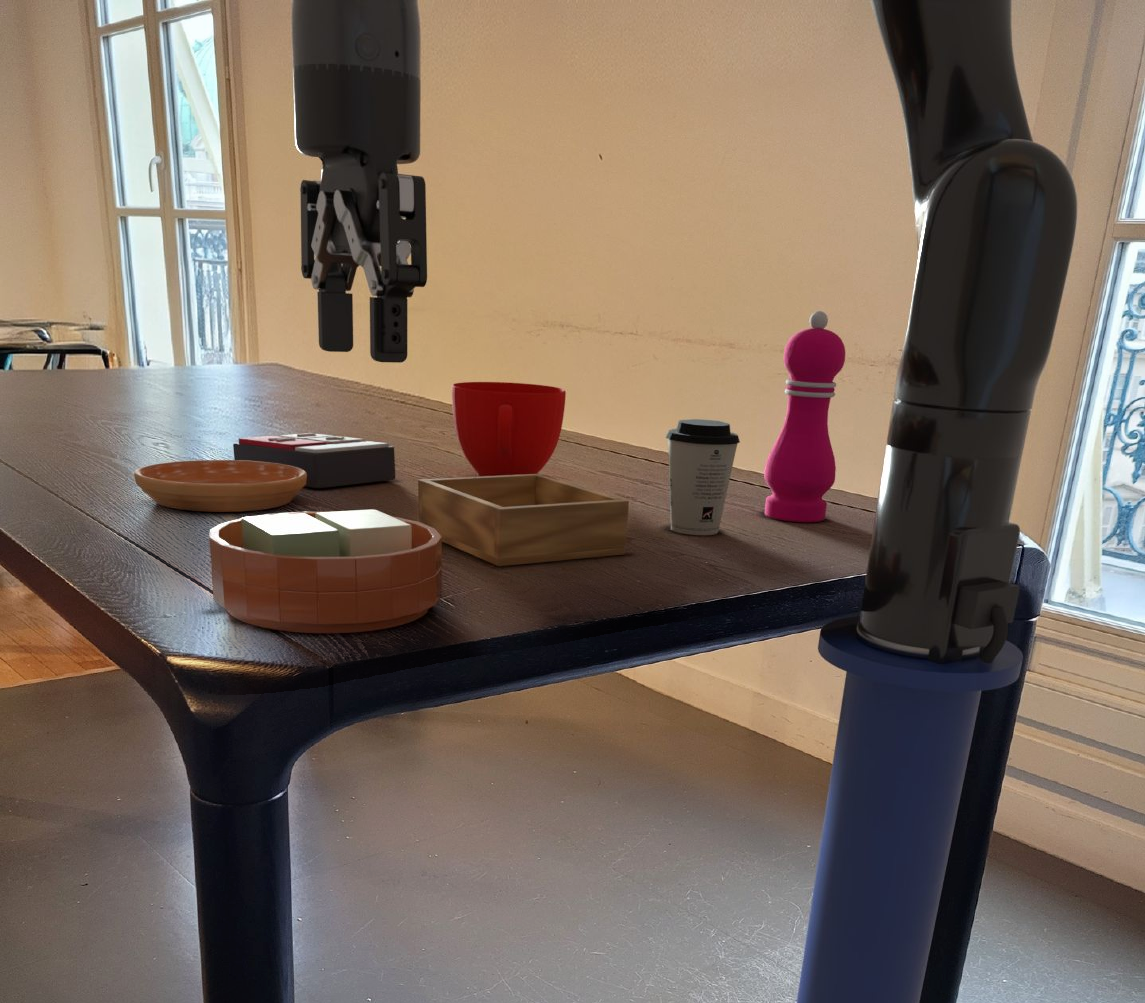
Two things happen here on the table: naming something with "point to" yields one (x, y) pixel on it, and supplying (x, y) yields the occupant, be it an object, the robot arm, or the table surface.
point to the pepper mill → (805, 426)
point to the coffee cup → (699, 474)
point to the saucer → (221, 484)
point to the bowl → (325, 584)
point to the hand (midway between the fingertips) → (361, 356)
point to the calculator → (323, 457)
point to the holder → (523, 518)
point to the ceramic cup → (507, 425)
